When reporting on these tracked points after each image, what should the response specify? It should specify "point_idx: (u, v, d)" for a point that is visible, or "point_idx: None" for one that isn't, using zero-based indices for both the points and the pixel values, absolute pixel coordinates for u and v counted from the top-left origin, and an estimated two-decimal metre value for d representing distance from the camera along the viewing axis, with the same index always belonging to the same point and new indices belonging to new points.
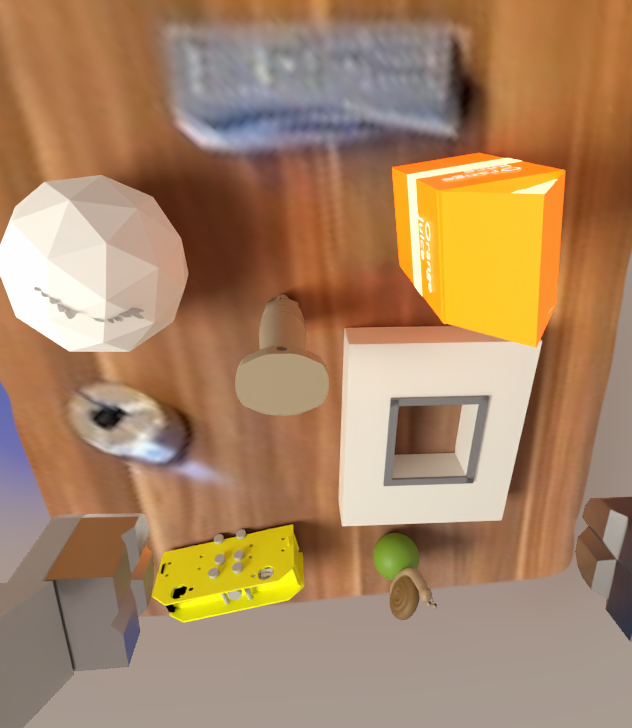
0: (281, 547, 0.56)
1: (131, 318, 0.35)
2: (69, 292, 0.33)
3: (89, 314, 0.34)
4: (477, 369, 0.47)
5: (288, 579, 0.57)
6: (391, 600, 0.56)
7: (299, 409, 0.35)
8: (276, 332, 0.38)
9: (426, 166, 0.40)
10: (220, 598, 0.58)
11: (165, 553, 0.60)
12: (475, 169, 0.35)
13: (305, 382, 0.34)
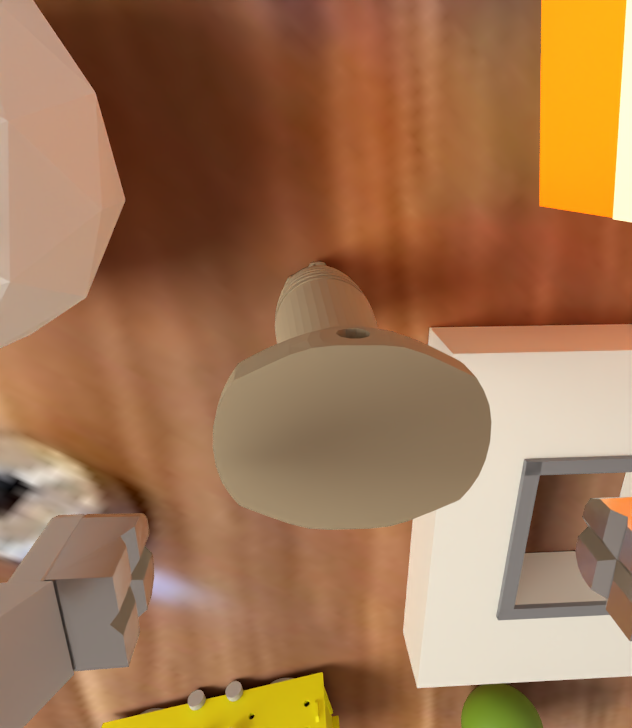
0: (304, 723, 0.32)
1: None
2: None
3: None
4: None
5: None
6: None
7: (398, 512, 0.12)
8: (320, 311, 0.16)
9: None
10: None
11: (106, 725, 0.35)
12: None
13: (421, 435, 0.12)
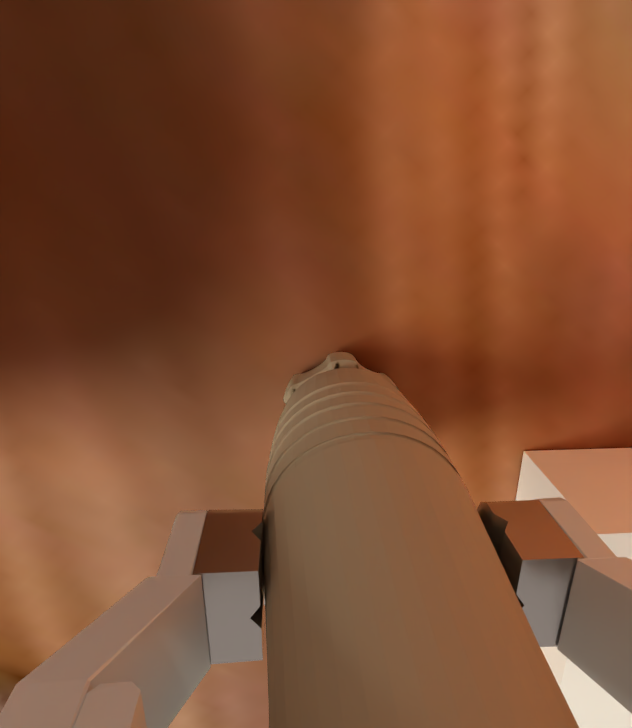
0: None
1: None
2: None
3: None
4: None
5: None
6: None
7: None
8: (387, 629, 0.05)
9: None
10: None
11: None
12: None
13: None
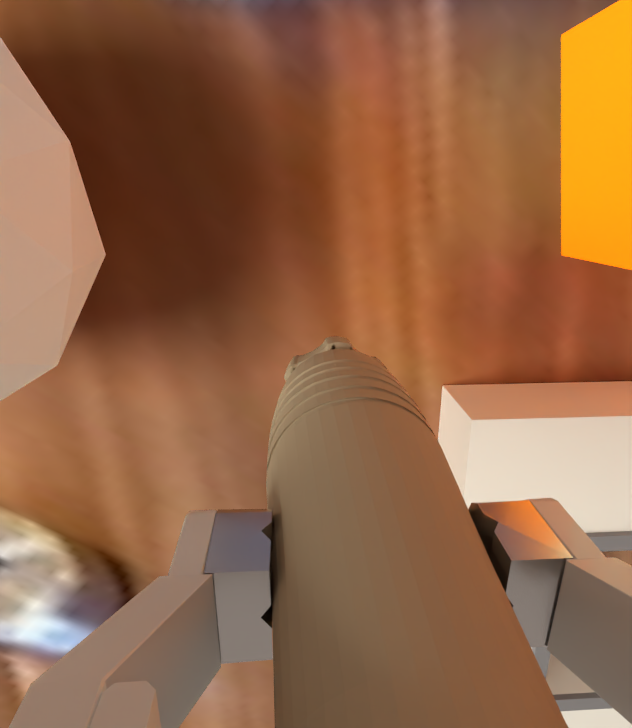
0: None
1: None
2: None
3: None
4: None
5: None
6: None
7: None
8: (367, 531, 0.07)
9: None
10: None
11: None
12: None
13: None
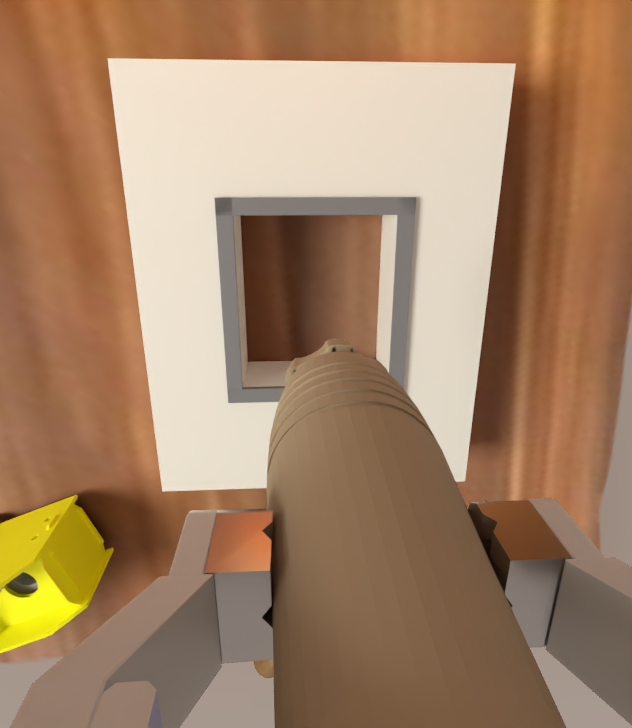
0: (35, 533, 0.30)
1: None
2: None
3: None
4: (386, 131, 0.23)
5: (58, 595, 0.30)
6: None
7: None
8: (368, 537, 0.07)
9: None
10: None
11: None
12: None
13: None
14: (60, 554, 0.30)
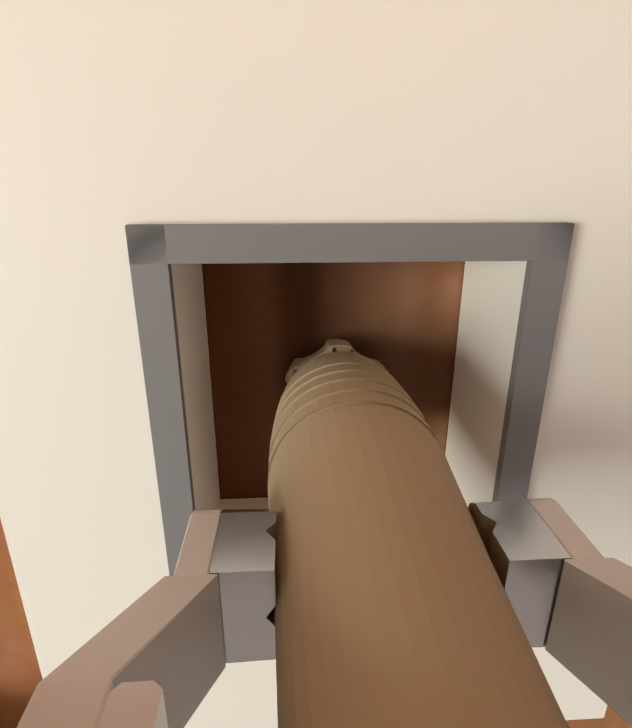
0: None
1: None
2: None
3: None
4: (519, 73, 0.10)
5: None
6: None
7: None
8: (370, 537, 0.07)
9: None
10: None
11: None
12: None
13: None
14: None
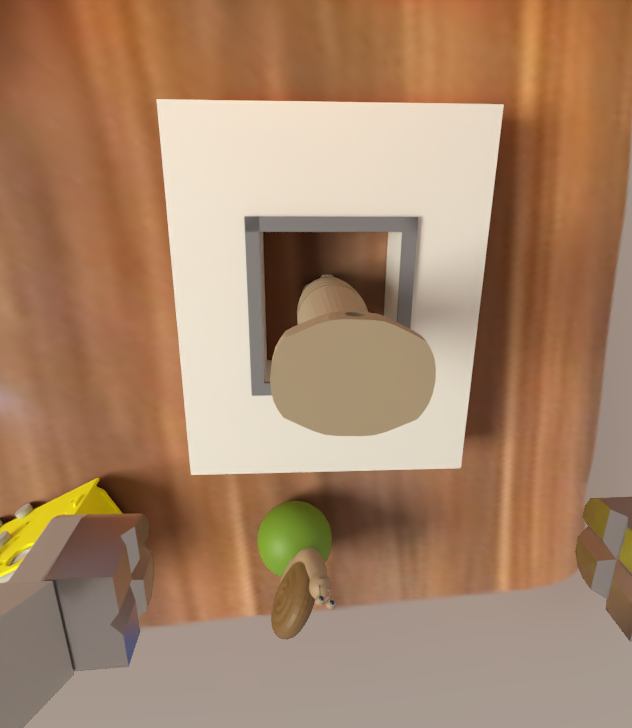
0: (63, 512, 0.34)
1: None
2: None
3: None
4: (393, 160, 0.27)
5: None
6: (273, 606, 0.32)
7: (379, 426, 0.20)
8: (332, 305, 0.24)
9: None
10: None
11: None
12: None
13: (394, 376, 0.19)
14: None
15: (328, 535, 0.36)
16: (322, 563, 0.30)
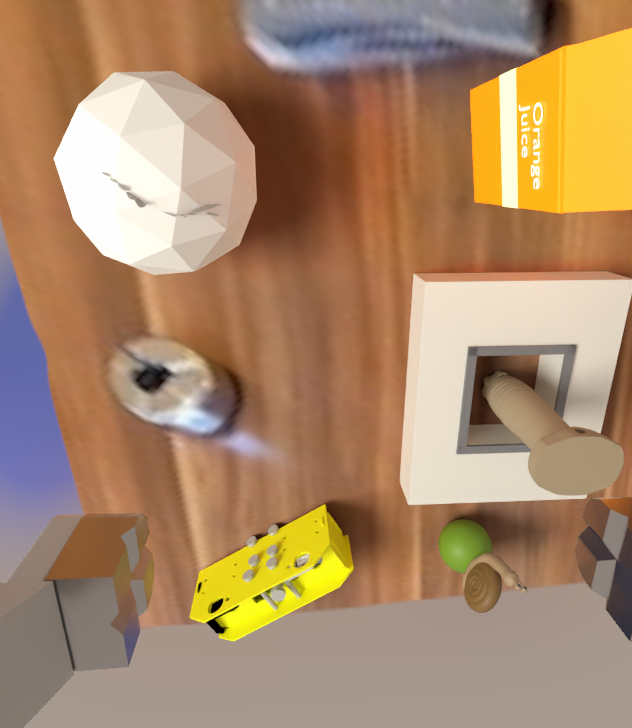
0: (315, 529, 0.50)
1: (204, 218, 0.32)
2: (141, 178, 0.29)
3: (160, 206, 0.30)
4: (563, 312, 0.43)
5: (334, 564, 0.50)
6: (467, 591, 0.48)
7: (589, 490, 0.36)
8: (541, 412, 0.40)
9: None
10: (268, 605, 0.51)
11: (201, 571, 0.55)
12: None
13: (601, 464, 0.36)
14: (332, 540, 0.50)
15: (491, 543, 0.52)
16: None
